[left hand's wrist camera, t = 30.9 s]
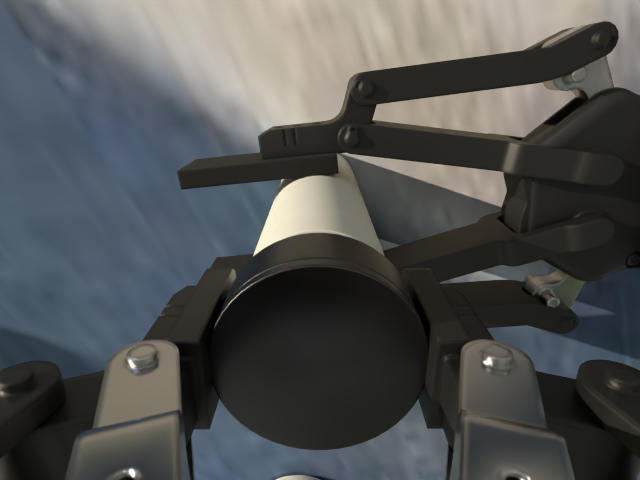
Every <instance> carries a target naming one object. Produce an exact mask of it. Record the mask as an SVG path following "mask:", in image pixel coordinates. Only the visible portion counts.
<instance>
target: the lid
mask: <svg viewBox="0 0 640 480" xmlns="http://www.w3.org/2000/svg"><path fill="white" fill-rule="evenodd" d="M428 354H429V343H428V339H427V334H426V332H425V329H424V326H423V324H422V321H421V319H420V317H419V314H418V312H417V310H416V307H415V305H414V303H413V300H412V298H411V296H410V293H409V291H408V288H407V286H406V284H405V282H404V280H403V278H402V277H401V275H400V273H399V272H398V270H397V269H396V268H395V267H394V265H393V264H392V263H391V262H390V261H389V260H388V259H387V258H386V257H385V256H384V255H382V254H381V253H380V252H378V251H377V250H376V249H374V248H373V247H371V246H369V245H367V244H365V243H363V242H361V241H359V240H356V239H353V238H351V237H347V236H343V235H339V234H331V233H307V234H299V235H295V236H291V237H287V238H285V239H282V240H279V241H277V242H275V243H273V244H271V245H269V246H267V247H265V248H264V249H262V250H261V251H260V252H258V253H257V254H256V255H254V256H253V257H252V258H251V259H250V260H249V261H248V262H247V263H246V264H245V265H244V267H243V268H242V269H241V270H240V272H239V273H238V275H237V276H236V278H235V280H234V282H233V284H232V286H231V288H230V291H229V293H228V295H227V298H226V300H225V302H224V305H223V307H222V309H221V312H220V314H219V316H218V318H217V321H216V323H215V326H214V328H213V331H212V334H211V337H210V342H209V361H210V370H211V378H212V383H213V386H214V388H215V390H216V393H217V395H218V397H219V398H220V400H221V401H222V403H223V405H224V406H225V407H226V408H227V410H228V411H229V412H230V413H231V414H232V415H233V416H234V417H235V418H236V419H237V420H238V421H239V422H240V423H241V424H243V425H244V426H245V427H247V428H248V429H249V430H251V431H252V432H254V433H256V434H258V435H259V436H261V437H263V438H265V439H268V440H270V441H272V442H275V443H278V444H281V445H285V446H289V447H294V448H299V449H308V450H330V449H339V448H344V447H349V446H353V445H356V444H360V443H363V442H365V441H368V440H370V439H372V438H375V437H377V436H378V435H380V434H382V433H384V432H385V431H387V430H388V429H390V428H391V427H393V426H394V425H395V424H397V423H398V422H399V421H400V420H401V419H402V418H403V417H404V416H405V415H406V414H407V413H408V412H409V411H410V409H411V408H412V407H413V406H414V404H415V403H416V401H417V399H418V398H419V396H420V395H421V392H422V390H423V388H424V385H425V381H426V373H427V363H428Z"/></svg>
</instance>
